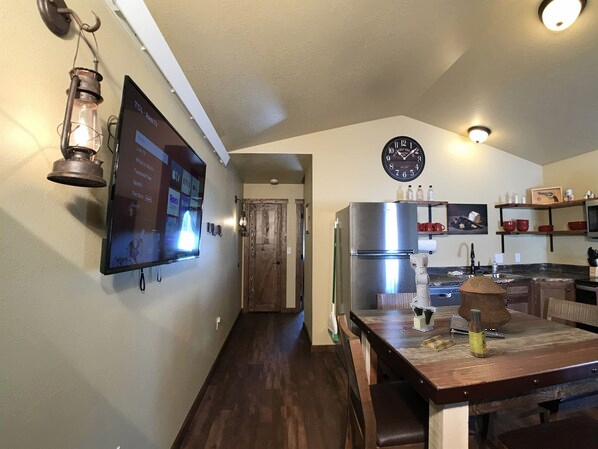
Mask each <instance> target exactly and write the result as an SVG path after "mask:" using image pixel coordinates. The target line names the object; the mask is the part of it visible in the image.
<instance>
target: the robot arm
mask: <svg viewBox="0 0 598 449" xmlns="http://www.w3.org/2000/svg"><path fill="white" fill-rule="evenodd" d="M409 262H410V268H411V269H412V270H413V271H414V273H415V278H414V279H415V286H416V288H415V289H416V296H415V297H413V298H412V302H410V303H409V306H410V307H411V308H412V312H413V313H414V317H417V316H421V315H425V320H426V325H428V324H430V320H431V317H432V315H434V313H435V314H436V313H438V312H439V309H438V307H435V306H431V300H430V290H429V286H430V276H429V274H428V270H427V269H428V264H429V257H428V254H427V253H423V254H422V253H418V254H417V253H413V254H412V253H411V254H409ZM433 326H434V325H432V326H429V327H426V328H422V329H418V328H415V327H414V326H413V327H412V329H414V330H417V331H420V332H423V333H426V332H430V331H433V330H434V329H435V328H434V327H433Z"/></svg>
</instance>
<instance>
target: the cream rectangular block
mask: <svg viewBox="0 0 598 449" xmlns="http://www.w3.org/2000/svg"><path fill="white" fill-rule="evenodd" d="M432 325H433V326H435V315H434V314H433V315H432V317H431V320H430V324H428V325H426V320H425V315H421V316H417V317H415V316H414V317H413V327H415V328H418V329H422V328H426V327H429V326H432Z"/></svg>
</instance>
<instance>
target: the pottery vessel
mask: <svg viewBox="0 0 598 449" xmlns="http://www.w3.org/2000/svg"><path fill="white" fill-rule="evenodd" d="M457 290H458V291H459V294H460V300H461V302H460V303H461V305H460V306H458V309H457V314H458V315H459V317H460V318H463V319H464V321H466V322H468V324H469V323H470V321H471V313H470V310H471V309H476V310H480V311H481V321H482V324H483V326H484V328H485V329H487V330H490V329H491V330H492V329H496V330H497V329H498V328H500V327H503V326H505V325H506V324H508V323H510V321H512V318H513V317H512V315H511V312H510V311H509V310H508V308H507V307H506V302H505V294H506V293H507V292H508V291H507V290H506V289H504V288H503V287H501V286H500V285H499V284H498V283H497V282H495V280H493V279H492V278H490V277H488V276H483V275H482V276H481V275H479V276H470V277H469V278H468V279H467V280H466V281H464V282H463V283H462V284H461V285H460V286H459V287H457Z"/></svg>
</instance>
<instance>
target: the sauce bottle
mask: <svg viewBox="0 0 598 449" xmlns="http://www.w3.org/2000/svg"><path fill="white" fill-rule="evenodd" d="M470 313H471V321H470V323H469V322H468V342H469V350H470V351H469V353H470V354H471V356H474V357H475V358H486V357H487V354H488V353H487V340H486V339H487V338H486V331H485V328H484V326H483V324H482V321H481V311H480V310H476V309H471V310H470Z"/></svg>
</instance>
